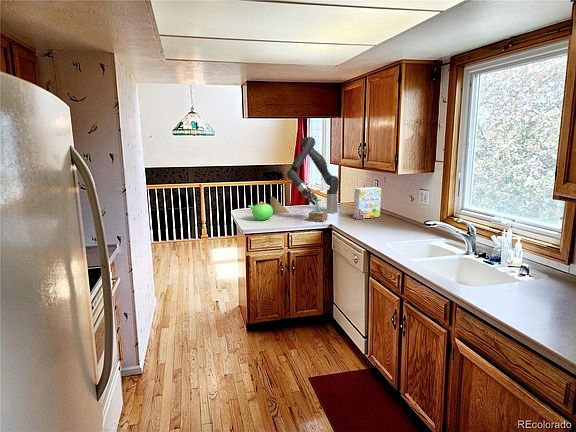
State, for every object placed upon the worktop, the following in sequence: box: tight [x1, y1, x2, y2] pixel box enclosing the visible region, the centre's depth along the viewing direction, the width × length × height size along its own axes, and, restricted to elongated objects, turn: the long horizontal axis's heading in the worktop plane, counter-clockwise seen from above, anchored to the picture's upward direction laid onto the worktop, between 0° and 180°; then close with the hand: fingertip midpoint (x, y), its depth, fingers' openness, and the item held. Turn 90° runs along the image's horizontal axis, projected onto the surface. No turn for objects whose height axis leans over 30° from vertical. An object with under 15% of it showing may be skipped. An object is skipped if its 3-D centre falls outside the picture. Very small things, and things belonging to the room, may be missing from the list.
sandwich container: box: [270, 196, 290, 215], centre depth 357 cm, size 9×15×15 cm, turn 117°
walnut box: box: [308, 209, 329, 223], centre depth 325 cm, size 12×12×7 cm
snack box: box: [352, 186, 383, 220], centre depth 331 cm, size 22×9×26 cm, turn 112°
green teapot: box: [247, 201, 273, 221], centre depth 327 cm, size 18×17×15 cm
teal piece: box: [312, 198, 325, 213], centre depth 323 cm, size 8×8×12 cm
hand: (317, 204), depth 323 cm, fingers open, 8 cm apart
